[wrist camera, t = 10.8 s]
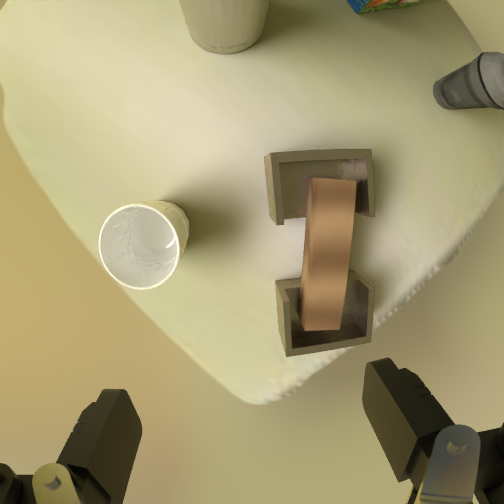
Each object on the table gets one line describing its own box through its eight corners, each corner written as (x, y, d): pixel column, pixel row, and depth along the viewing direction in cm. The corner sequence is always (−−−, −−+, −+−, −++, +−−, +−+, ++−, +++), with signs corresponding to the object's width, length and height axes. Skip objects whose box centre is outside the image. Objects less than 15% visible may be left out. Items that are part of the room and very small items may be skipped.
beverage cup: (426, 112, 33) (536, 90, 14) (423, 65, 31) (521, 24, 12) (463, 123, 34) (567, 114, 14) (459, 79, 32) (555, 53, 12)
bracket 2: (353, 319, 40) (370, 342, 34) (278, 330, 40) (286, 356, 33) (354, 270, 38) (374, 288, 32) (275, 280, 38) (282, 301, 32)
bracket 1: (264, 157, 34) (270, 152, 28) (349, 152, 34) (371, 148, 28) (269, 216, 36) (276, 225, 30) (352, 209, 36) (375, 216, 30)
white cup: (146, 185, 34) (114, 190, 24) (205, 212, 35) (194, 225, 26) (123, 244, 36) (89, 268, 26) (180, 270, 37) (161, 303, 27)
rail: (308, 177, 32) (318, 177, 28) (343, 180, 32) (356, 181, 28) (297, 314, 36) (304, 330, 32) (329, 314, 36) (339, 329, 32)
